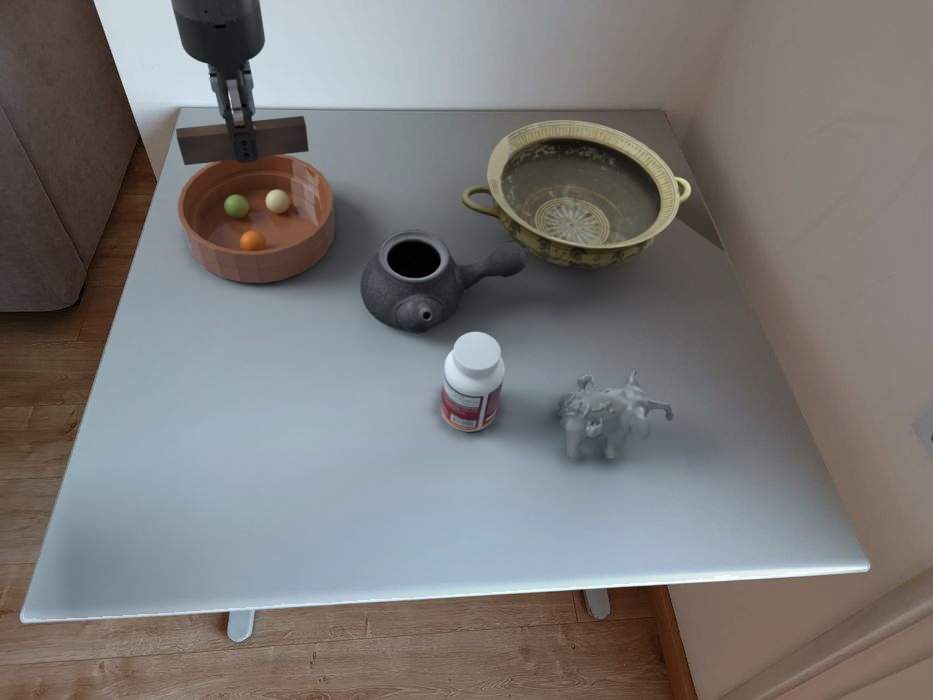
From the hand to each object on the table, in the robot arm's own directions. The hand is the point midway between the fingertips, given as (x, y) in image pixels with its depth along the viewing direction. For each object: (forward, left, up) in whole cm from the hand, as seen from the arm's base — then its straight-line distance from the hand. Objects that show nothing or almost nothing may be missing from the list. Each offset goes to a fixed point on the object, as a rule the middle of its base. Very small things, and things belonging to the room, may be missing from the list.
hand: (246, 153), depth 77 cm
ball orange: (-1, 0, -15) cm, 15 cm away
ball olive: (-2, +6, -15) cm, 16 cm away
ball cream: (+3, +6, -15) cm, 16 cm away
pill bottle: (+18, -28, -15) cm, 37 cm away
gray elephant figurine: (+32, -34, -15) cm, 49 cm away
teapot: (+19, -13, -15) cm, 28 cm away
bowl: (0, +3, -15) cm, 16 cm away
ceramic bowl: (+39, -5, -15) cm, 42 cm away
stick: (0, 0, 0) cm, 0 cm away
